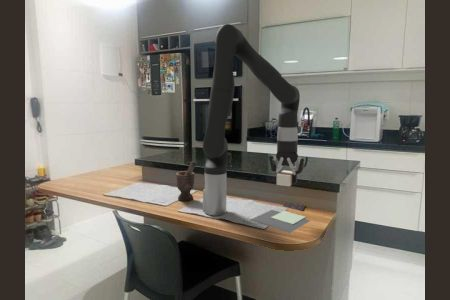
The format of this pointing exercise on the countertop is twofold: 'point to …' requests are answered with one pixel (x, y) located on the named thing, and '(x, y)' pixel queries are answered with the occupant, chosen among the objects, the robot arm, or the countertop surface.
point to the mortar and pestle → (186, 182)
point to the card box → (284, 178)
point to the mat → (281, 220)
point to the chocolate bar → (294, 206)
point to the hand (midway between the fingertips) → (286, 182)
